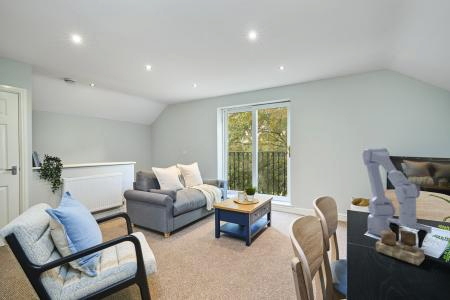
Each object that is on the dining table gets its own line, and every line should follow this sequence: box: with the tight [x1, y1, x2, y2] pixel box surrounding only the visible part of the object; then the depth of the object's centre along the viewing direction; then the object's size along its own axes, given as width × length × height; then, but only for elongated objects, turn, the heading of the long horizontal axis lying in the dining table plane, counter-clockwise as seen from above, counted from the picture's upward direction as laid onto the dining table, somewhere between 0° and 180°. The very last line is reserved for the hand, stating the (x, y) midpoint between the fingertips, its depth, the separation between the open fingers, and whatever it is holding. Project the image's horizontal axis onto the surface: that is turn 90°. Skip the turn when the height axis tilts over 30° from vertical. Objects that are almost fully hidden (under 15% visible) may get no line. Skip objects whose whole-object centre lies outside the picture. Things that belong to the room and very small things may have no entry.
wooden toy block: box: [375, 230, 425, 266], centre depth 86 cm, size 14×8×8 cm, turn 33°
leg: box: [399, 230, 417, 247], centre depth 90 cm, size 5×5×8 cm
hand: (408, 243), depth 90 cm, fingers open, 7 cm apart
